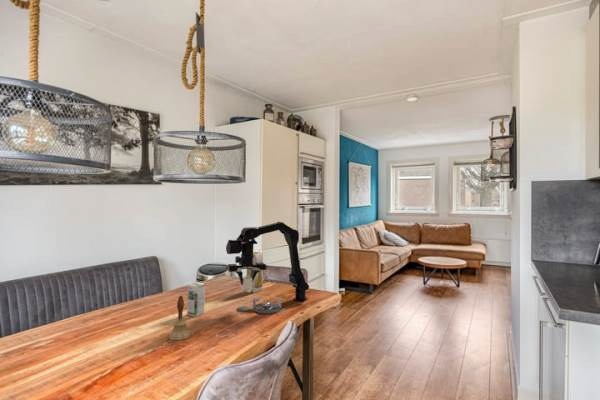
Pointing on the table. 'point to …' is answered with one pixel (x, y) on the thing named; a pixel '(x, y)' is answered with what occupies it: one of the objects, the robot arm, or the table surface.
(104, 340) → the table surface
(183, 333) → the hand bell
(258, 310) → the lugged metal disc
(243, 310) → the rubber pad
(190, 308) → the syrup box
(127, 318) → the table surface
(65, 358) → the table surface
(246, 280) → the cream block with tab
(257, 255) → the juice carton
